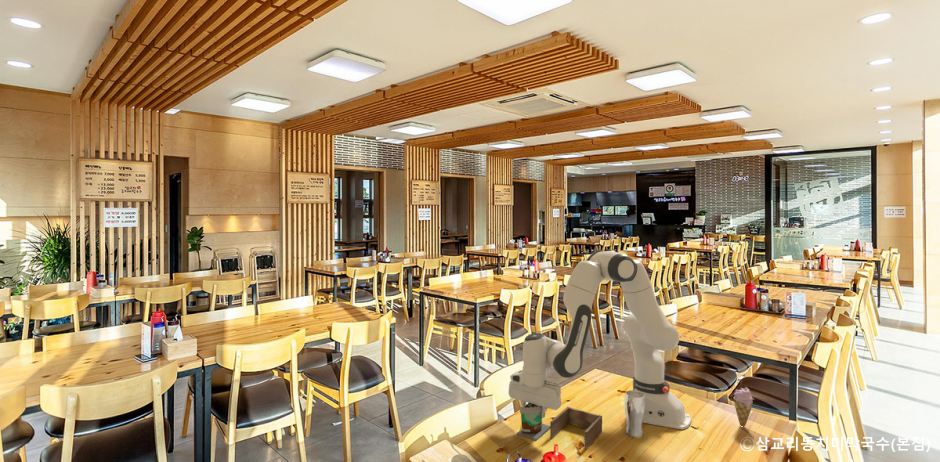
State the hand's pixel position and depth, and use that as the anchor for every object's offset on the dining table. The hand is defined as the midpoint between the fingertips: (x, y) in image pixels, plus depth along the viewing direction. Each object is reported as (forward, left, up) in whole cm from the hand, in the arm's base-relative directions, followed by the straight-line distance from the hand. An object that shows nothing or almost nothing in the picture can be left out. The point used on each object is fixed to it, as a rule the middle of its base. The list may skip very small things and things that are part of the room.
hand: (534, 414), depth 169 cm
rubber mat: (0, 0, -6) cm, 6 cm away
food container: (-1, 0, -6) cm, 6 cm away
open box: (-14, -6, -6) cm, 16 cm away
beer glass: (-31, -19, -6) cm, 37 cm away
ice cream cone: (-63, -48, -6) cm, 79 cm away
